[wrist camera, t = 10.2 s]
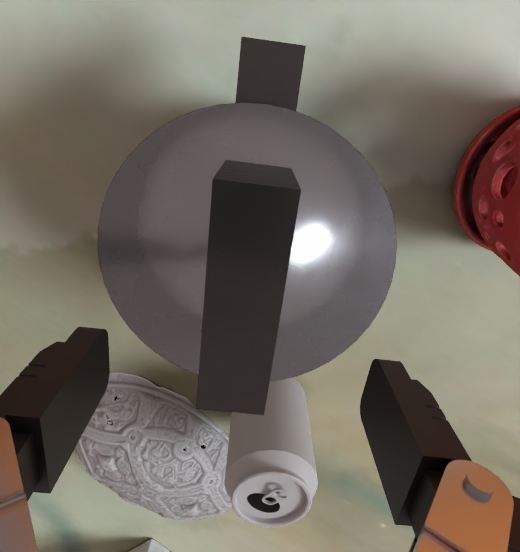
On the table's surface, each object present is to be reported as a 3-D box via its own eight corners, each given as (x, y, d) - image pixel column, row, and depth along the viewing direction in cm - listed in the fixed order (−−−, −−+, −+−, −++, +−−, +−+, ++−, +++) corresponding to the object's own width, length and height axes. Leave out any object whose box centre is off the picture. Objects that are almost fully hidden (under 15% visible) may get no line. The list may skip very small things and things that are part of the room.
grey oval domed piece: (106, 343, 37) (74, 397, 32) (288, 459, 45) (289, 519, 40) (35, 418, 44) (-3, 475, 38) (206, 509, 51) (197, 567, 46)
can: (219, 401, 40) (203, 510, 30) (261, 353, 38) (260, 453, 27) (276, 433, 42) (280, 547, 31) (320, 389, 40) (341, 497, 29)
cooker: (166, 299, 36) (122, 385, 25) (173, 50, 28) (113, 14, 17) (315, 316, 36) (337, 408, 25) (364, 78, 28) (429, 59, 17)
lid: (103, 82, 18) (20, 70, 12) (422, 125, 18) (500, 134, 12) (113, 352, 24) (62, 437, 18) (353, 378, 24) (382, 467, 18)
